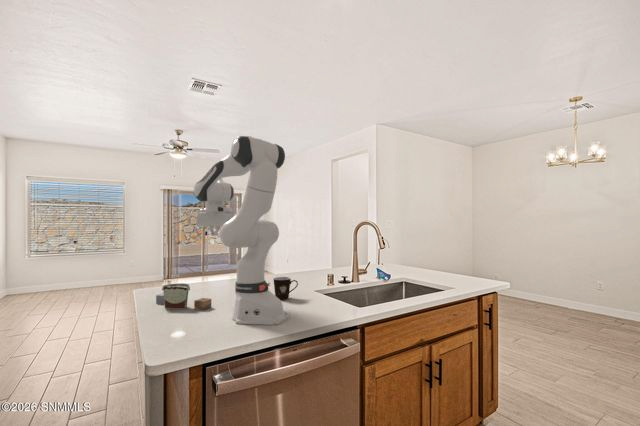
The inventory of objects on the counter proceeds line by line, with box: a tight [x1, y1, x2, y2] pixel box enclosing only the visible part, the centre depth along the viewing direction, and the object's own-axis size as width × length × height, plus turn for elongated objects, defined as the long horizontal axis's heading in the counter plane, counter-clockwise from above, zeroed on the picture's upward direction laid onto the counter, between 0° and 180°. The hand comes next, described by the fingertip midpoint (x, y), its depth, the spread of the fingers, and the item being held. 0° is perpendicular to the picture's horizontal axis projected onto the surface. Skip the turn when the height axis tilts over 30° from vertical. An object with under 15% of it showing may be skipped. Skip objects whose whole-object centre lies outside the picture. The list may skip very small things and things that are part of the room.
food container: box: [161, 282, 191, 310], centre depth 137 cm, size 12×6×10 cm, turn 84°
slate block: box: [155, 293, 165, 305], centre depth 145 cm, size 5×5×4 cm
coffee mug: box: [273, 276, 299, 301], centre depth 151 cm, size 12×9×10 cm
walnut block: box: [193, 297, 212, 311], centre depth 135 cm, size 5×5×4 cm
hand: (214, 235), depth 157 cm, fingers closed
